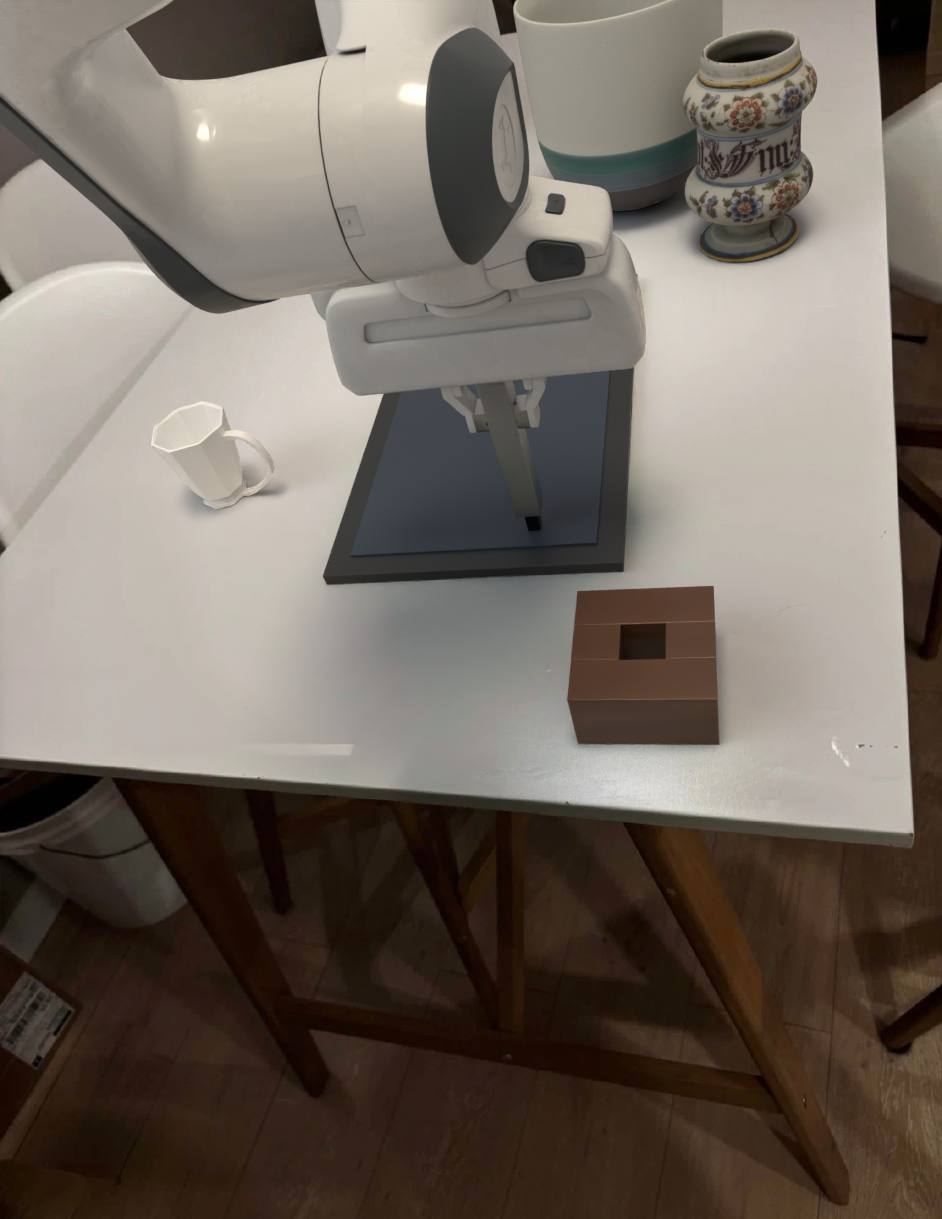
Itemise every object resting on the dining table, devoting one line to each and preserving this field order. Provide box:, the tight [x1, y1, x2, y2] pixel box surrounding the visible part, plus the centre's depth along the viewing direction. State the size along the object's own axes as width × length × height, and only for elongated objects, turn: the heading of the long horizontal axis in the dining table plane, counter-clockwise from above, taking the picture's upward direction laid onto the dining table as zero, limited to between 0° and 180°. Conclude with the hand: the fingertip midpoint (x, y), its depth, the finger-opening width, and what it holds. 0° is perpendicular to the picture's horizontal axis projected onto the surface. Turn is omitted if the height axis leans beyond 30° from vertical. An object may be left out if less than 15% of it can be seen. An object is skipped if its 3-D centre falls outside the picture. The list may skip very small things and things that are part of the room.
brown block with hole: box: [566, 585, 720, 746], centre depth 57 cm, size 9×9×5 cm
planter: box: [512, 0, 724, 212], centre depth 95 cm, size 20×20×21 cm
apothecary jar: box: [683, 27, 818, 263], centre depth 85 cm, size 12×12×18 cm
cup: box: [150, 400, 275, 511], centre depth 80 cm, size 7×10×8 cm
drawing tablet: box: [322, 273, 639, 585], centre depth 81 cm, size 40×24×1 cm, turn 172°
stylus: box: [476, 381, 543, 531], centre depth 64 cm, size 2×2×15 cm
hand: (505, 425), depth 62 cm, fingers closed on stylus, 2 cm apart
